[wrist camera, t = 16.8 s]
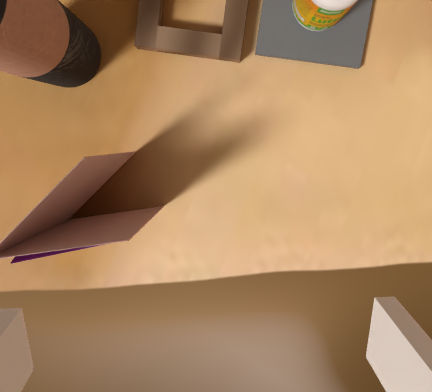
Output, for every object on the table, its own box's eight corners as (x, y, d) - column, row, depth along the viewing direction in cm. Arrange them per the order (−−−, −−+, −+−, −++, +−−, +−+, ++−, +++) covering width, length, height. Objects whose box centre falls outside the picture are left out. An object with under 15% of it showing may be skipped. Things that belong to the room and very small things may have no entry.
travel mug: (67, 0, 40) (-92, -135, 20) (118, 55, 41) (11, -25, 21) (19, 52, 41) (-177, -29, 21) (69, 105, 42) (-77, 73, 22)
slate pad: (255, 54, 40) (255, 53, 39) (271, -58, 38) (272, -61, 38) (358, 68, 40) (360, 67, 39) (379, -44, 38) (381, -47, 38)
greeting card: (69, 227, 44) (-15, 271, 29) (55, 163, 43) (-39, 176, 28) (165, 213, 43) (130, 251, 28) (154, 148, 42) (111, 152, 27)
